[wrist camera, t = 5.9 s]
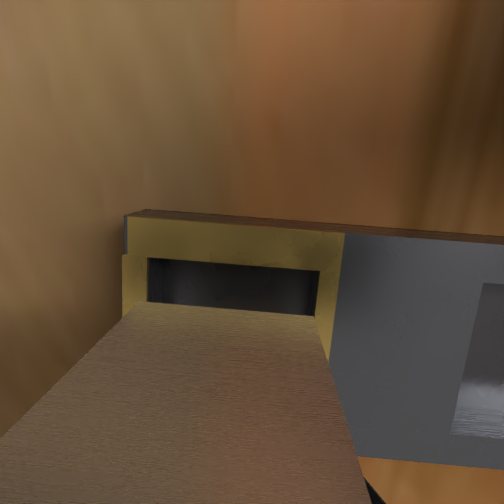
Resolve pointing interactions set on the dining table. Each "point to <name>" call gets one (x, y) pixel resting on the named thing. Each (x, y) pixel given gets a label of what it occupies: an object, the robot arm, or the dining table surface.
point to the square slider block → (189, 417)
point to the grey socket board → (355, 316)
